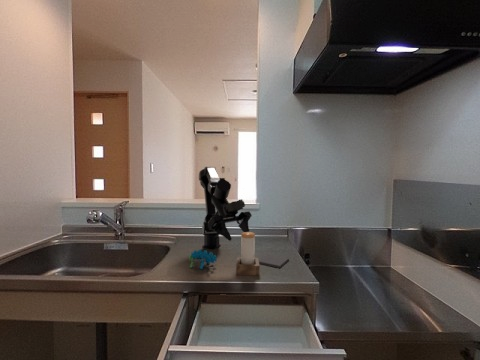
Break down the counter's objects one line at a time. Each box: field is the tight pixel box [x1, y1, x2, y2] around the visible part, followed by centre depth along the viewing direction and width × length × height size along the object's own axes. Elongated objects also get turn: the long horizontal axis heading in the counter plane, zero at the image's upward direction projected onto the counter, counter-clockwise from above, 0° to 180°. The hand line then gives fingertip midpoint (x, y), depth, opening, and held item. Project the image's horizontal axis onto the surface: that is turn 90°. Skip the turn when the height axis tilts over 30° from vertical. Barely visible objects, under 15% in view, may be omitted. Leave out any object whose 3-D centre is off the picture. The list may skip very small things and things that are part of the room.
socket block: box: [235, 257, 260, 276], centre depth 103 cm, size 8×8×4 cm
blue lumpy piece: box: [188, 249, 217, 270], centre depth 106 cm, size 11×6×10 cm
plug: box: [240, 231, 256, 265], centre depth 102 cm, size 5×5×14 cm
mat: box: [258, 253, 290, 269], centre depth 113 cm, size 10×10×1 cm
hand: (240, 238), depth 105 cm, fingers open, 9 cm apart
